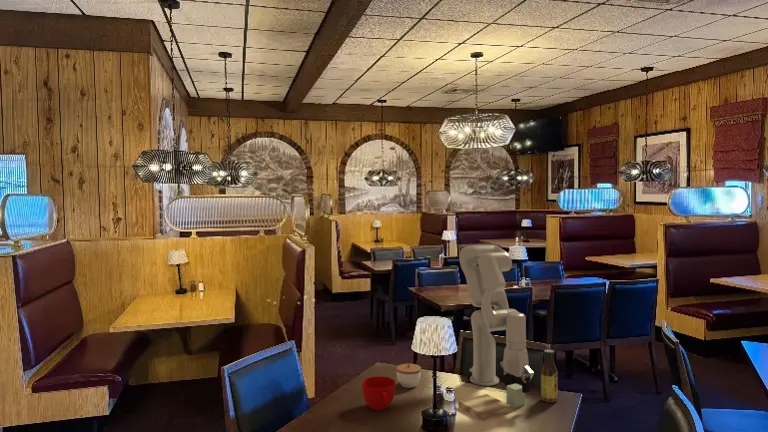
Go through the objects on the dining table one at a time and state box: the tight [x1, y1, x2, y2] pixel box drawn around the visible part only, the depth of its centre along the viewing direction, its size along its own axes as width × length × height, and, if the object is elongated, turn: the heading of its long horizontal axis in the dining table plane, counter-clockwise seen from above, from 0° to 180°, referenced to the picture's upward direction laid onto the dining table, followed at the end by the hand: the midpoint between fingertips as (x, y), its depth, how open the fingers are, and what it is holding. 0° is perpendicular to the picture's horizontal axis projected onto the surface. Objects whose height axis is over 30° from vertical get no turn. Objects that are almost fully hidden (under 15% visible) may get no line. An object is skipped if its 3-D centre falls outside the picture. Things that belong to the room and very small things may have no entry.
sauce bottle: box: [540, 349, 558, 403], centre depth 218 cm, size 6×6×20 cm
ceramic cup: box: [361, 376, 396, 411], centre depth 212 cm, size 13×17×10 cm
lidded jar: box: [395, 363, 422, 389], centre depth 237 cm, size 11×11×9 cm
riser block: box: [458, 393, 512, 421], centre depth 210 cm, size 14×14×3 cm
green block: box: [505, 383, 526, 408], centre depth 215 cm, size 5×5×7 cm
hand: (516, 388), depth 214 cm, fingers open, 9 cm apart
